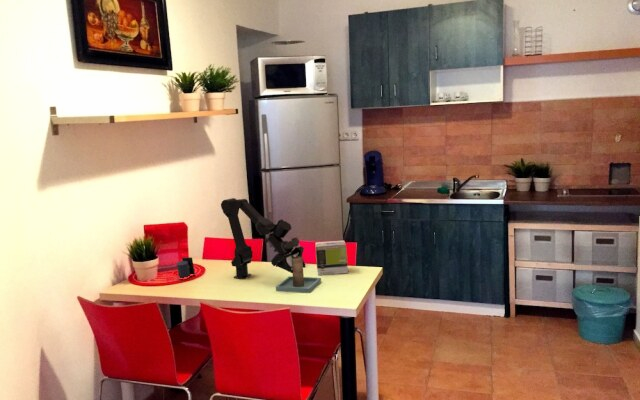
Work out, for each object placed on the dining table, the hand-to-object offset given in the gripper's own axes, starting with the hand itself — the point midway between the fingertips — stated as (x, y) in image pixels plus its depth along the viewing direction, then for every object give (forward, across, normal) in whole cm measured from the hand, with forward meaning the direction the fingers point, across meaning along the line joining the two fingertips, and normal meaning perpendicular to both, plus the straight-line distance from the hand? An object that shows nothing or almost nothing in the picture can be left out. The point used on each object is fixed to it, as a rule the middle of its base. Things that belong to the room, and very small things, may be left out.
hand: (298, 269), depth 251 cm
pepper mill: (+5, 0, +6) cm, 7 cm away
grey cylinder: (-12, +26, +23) cm, 37 cm away
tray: (+5, 0, +6) cm, 8 cm away
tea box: (+6, +26, +6) cm, 27 cm away
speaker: (-37, -14, +49) cm, 63 cm away
